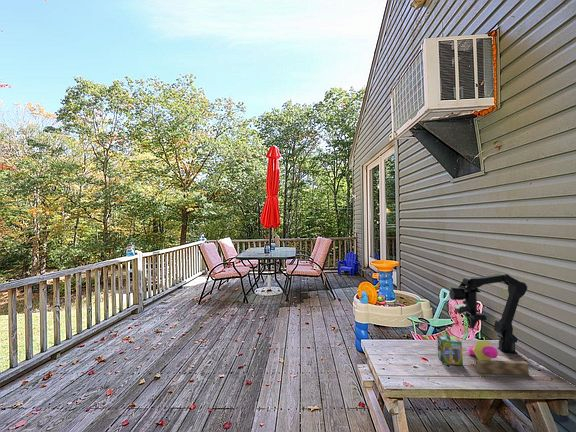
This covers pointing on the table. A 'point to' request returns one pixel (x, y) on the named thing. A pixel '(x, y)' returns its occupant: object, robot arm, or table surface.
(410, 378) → the table surface
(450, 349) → the chalk box
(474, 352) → the toy
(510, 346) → the robot arm
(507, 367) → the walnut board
